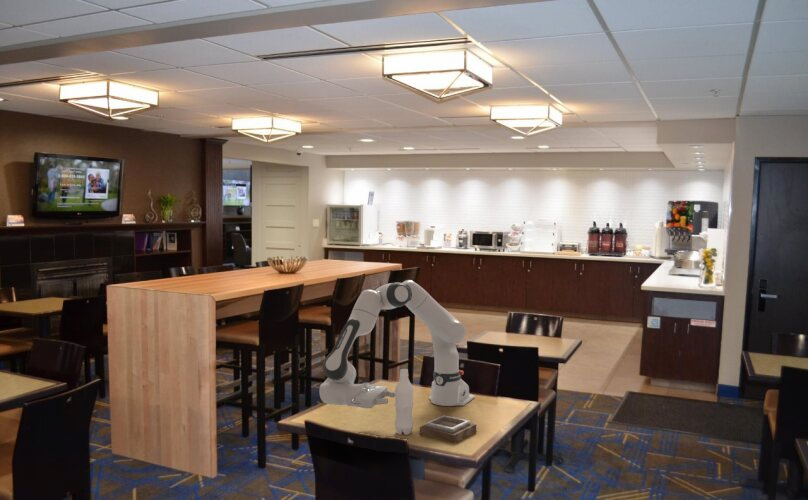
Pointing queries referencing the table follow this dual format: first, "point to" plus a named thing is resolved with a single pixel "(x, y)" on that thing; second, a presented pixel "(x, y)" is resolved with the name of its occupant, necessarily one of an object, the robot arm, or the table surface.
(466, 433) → the display stand
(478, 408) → the table surface
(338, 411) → the table surface
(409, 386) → the water bottle
